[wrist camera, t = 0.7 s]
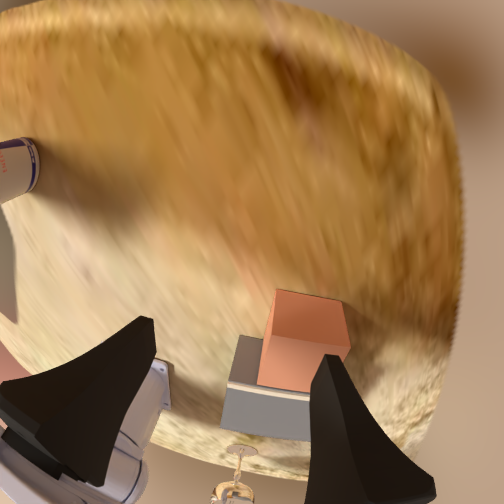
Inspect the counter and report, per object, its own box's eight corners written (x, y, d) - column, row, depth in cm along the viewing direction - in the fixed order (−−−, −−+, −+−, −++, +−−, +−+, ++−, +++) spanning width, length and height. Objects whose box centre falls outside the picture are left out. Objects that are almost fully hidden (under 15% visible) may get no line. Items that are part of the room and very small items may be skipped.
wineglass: (261, 458, 34) (251, 525, 24) (224, 454, 35) (209, 519, 24) (262, 444, 32) (250, 520, 21) (220, 440, 33) (202, 512, 22)
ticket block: (313, 402, 26) (314, 443, 22) (229, 388, 27) (219, 429, 22) (341, 352, 23) (348, 399, 18) (239, 334, 23) (227, 382, 18)
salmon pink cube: (321, 347, 22) (324, 394, 18) (263, 338, 23) (256, 384, 18) (341, 301, 20) (351, 347, 16) (276, 289, 20) (271, 334, 16)
